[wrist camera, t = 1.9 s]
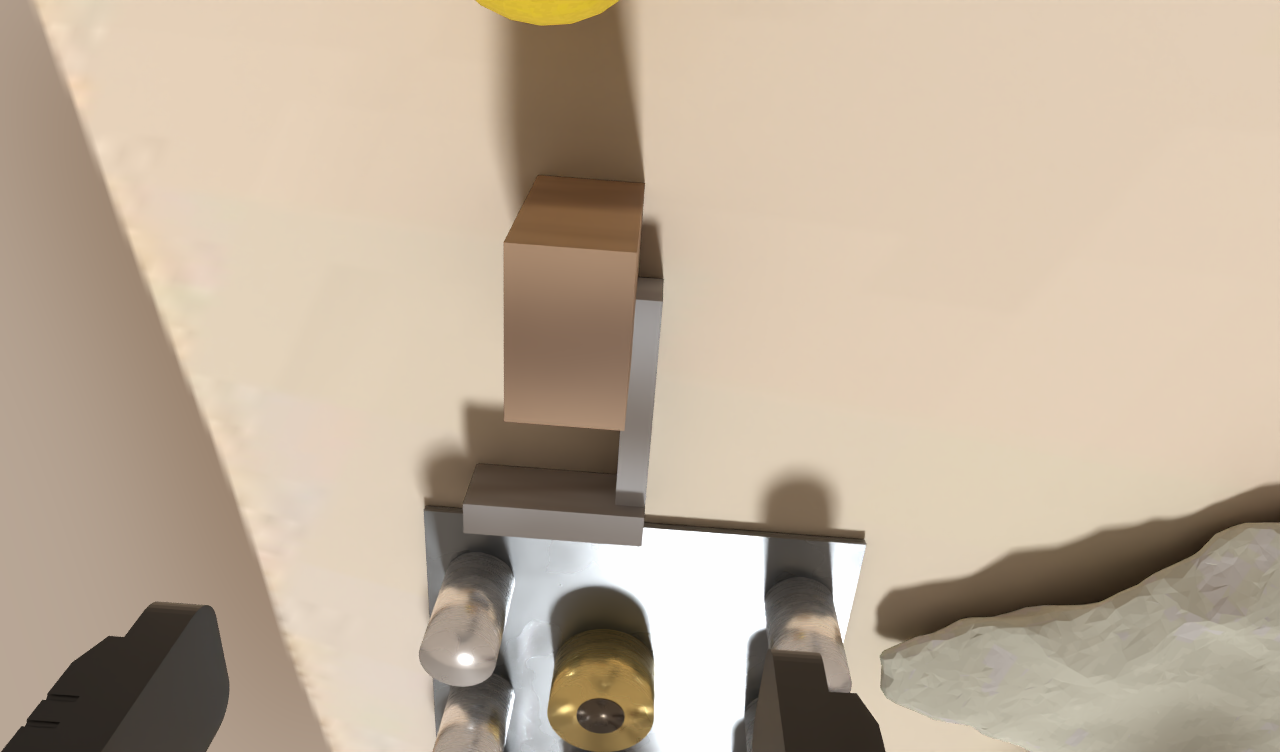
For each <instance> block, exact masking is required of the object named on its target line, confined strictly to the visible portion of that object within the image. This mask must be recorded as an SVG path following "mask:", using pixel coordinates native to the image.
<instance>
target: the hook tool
mask: <svg viewBox="0 0 1280 752" xmlns="http://www.w3.org/2000/svg"><path fill="white" fill-rule="evenodd" d="M644 189H645V183H635V182H622V181H609V180H596V179H583V178H570V177H557V176H544V175H538V176H537V178H536V180H535V182H534V184H533V186H532V188H531V190H530V192H529V194H528V196H527V198H526V200H525V201H524V203H523V205H522V207H521V209H520V211H519V213H518V215H517V217H516V219H515V221H514V223H513V225H512V227H511V229H510V231H509V233H508V235H507V237H506V239H505V241H504V422H516V423H529V424H542V425H555V426H568V427H581V428H593V429H606V430H619V431H620V440H619V455H618V470H617V474H604V473H591V472H578V471H565V470H552V469H539V468H527V467H514V466H501V465H488V464H477V465H476V468H475V471H474V474H473V477H472V479H471V482H470V485H469V488H468V491H467V493H466V496H465V499H464V502H463V528H464V533H470V534H482V535H495V536H508V537H521V538H534V539H547V540H560V541H572V542H585V543H598V544H611V545H624V546H637V547H642V538H643V527H644V514H645V500H646V488H647V477H648V465H649V454H650V442H651V431H652V419H653V408H654V396H655V385H656V373H657V362H658V350H659V339H660V327H661V316H662V304H663V280H664V279H657V278H644V277H638V272H639V258H640V244H641V230H642V216H643V203H644Z"/></svg>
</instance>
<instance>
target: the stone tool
mask: <svg viewBox="0 0 1280 752" xmlns="http://www.w3.org/2000/svg"><path fill="white" fill-rule="evenodd" d="M880 660H881V665H882V667H881V685H880V688H881V690H882V691H883V693H884V695H885V696H886V698H887V699H889V700H891V701H892V702H894V703H896V704H898V705H900V706H903V707H905V708H908V709H910V710H913V711H915V712H918V713H920V714H922V715H925V716H927V717H929V718H931V719H933V720H937V721H942V722H948V723H955V724H963V725H968V726H971V727H973V728H975V729H976V730H977V731H979V732H980V733H981V734H983V735H986V736H988V737H991V738H993V739H997V740H1001V741H1004V742H1007V743H1010V744H1014V745H1017V746H1020V747H1022V748H1024V749H1026V750H1028V751H1030V752H1280V522H1272V523H1243V524H1239V525H1236V526H1233V527H1230V528H1228V529H1226V530H1223V531H1221V532H1219V533H1217V534H1215V535H1214V536H1213V537H1212V538H1211V539H1210V540H1209V541H1208V542H1207V543H1206V544H1205V545H1204V546H1203V548H1202V549H1201V550H1200V551H1199V552H1197V553H1196V554H1194V555H1193V556H1191V557H1188V558H1186V559H1184V560H1182V561H1180V562H1178V563H1175V564H1173V565H1171V566H1169V567H1167V568H1165V569H1162V570H1160V571H1158V572H1156V573H1154V574H1152V575H1151V576H1149V577H1148V578H1146V579H1145V580H1143V581H1142V582H1141V583H1139V584H1138V585H1136V586H1133V587H1131V588H1128V589H1126V590H1123V591H1121V592H1119V593H1117V594H1115V595H1113V596H1111V597H1109V598H1107V599H1105V600H1103V601H1101V602H1096V603H1091V604H1085V605H1061V606H1058V605H1042V606H1033V607H1025V608H1022V609H1019V610H1016V611H1013V612H1009V613H1005V614H1001V615H997V616H993V617H970V618H965V619H960V620H958V621H956V622H954V623H952V624H950V625H949V626H947V627H945V628H943V629H940V630H938V631H936V632H934V633H930V634H926V635H921V636H917V637H914V638H912V639H910V640H907V641H905V642H902V643H900V644H898V645H895V646H893V647H891V648H888V649H886V650H884V651H883V652H882V654H881V655H880Z"/></svg>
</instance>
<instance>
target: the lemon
mask: <svg viewBox="0 0 1280 752" xmlns="http://www.w3.org/2000/svg"><path fill="white" fill-rule="evenodd" d="M475 1H477V2H478V3H479V4H480V5H482V6H483V7H485V8H487V9H490V10H492V11H494V12H496V13H498V14H500V15H502V16H504V17H506V18H508V19H510V20H515V21H520V22H525V23H530V24H535V25H540V26H545V25H560V24H573V23H575V22H578V21H581V20H584V19H587V18H589V17H592V16H595V15H598V14H601V13H602V12H604V11H605V10H606V9H608V8H609V7H611V6H612V5H614V4H615V3H616V2H618V1H619V0H475Z"/></svg>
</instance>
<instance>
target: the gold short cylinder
mask: <svg viewBox="0 0 1280 752" xmlns="http://www.w3.org/2000/svg"><path fill="white" fill-rule="evenodd" d="M654 699H655V661H654V658H653V656H652V654H651V652H650V651H649V649H648V648H647V647H646V646H645V645H644V644H643V643H642V642H641V641H639V640H638V639H636V638H635V637H633V636H631V635H629V634H626V633H623V632H620V631H616V630H610V629H595V630H589V631H585V632H581V633H579V634H577V635H575V636H573V637H571V638H570V639H568V640H567V641H566V642H565V643H564V644H563V645H562V646H561V647H560V649H559V650H558V652H557V655H556V658H555V664H554V670H553V677H552V683H551V689H550V696H549V702H548V709H547V715H548V720H549V723H550V725H551V727H552V728H553V730H554V731H555V732H556V734H557V735H558V736H559V737H561V738H562V739H563V740H564V741H566V742H568V743H569V744H571V745H573V746H576V747H578V748H581V749H584V750H588V751H595V752H613V751H619V750H623V749H626V748H629V747H631V746H633V745H635V744H637V743H638V742H640V741H641V740H642V739H644V738H645V737H646V736H647V734H648V733H649V732H650V730H651V728H652V726H653V722H654Z"/></svg>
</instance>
